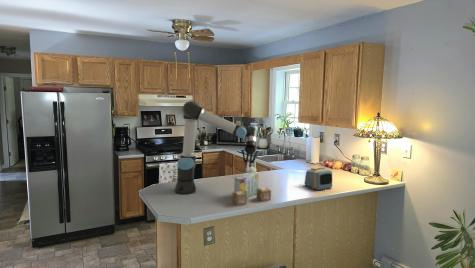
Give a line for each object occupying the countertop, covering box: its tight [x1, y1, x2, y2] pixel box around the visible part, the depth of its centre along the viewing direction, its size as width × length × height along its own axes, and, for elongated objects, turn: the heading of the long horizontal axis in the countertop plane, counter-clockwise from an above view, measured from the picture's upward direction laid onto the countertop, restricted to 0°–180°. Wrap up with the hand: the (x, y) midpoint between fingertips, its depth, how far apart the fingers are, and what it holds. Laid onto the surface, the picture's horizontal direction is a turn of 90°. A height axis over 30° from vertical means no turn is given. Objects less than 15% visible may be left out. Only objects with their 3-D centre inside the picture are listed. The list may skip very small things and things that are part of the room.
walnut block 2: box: [256, 187, 272, 202], centre depth 210 cm, size 7×7×7 cm
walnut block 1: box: [231, 191, 248, 207], centre depth 201 cm, size 7×7×7 cm
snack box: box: [233, 172, 259, 198], centre depth 215 cm, size 21×6×15 cm, turn 141°
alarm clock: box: [304, 166, 333, 191], centre depth 242 cm, size 16×16×16 cm
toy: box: [241, 160, 257, 176], centre depth 260 cm, size 10×17×15 cm, turn 138°
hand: (247, 170), depth 214 cm, fingers closed
